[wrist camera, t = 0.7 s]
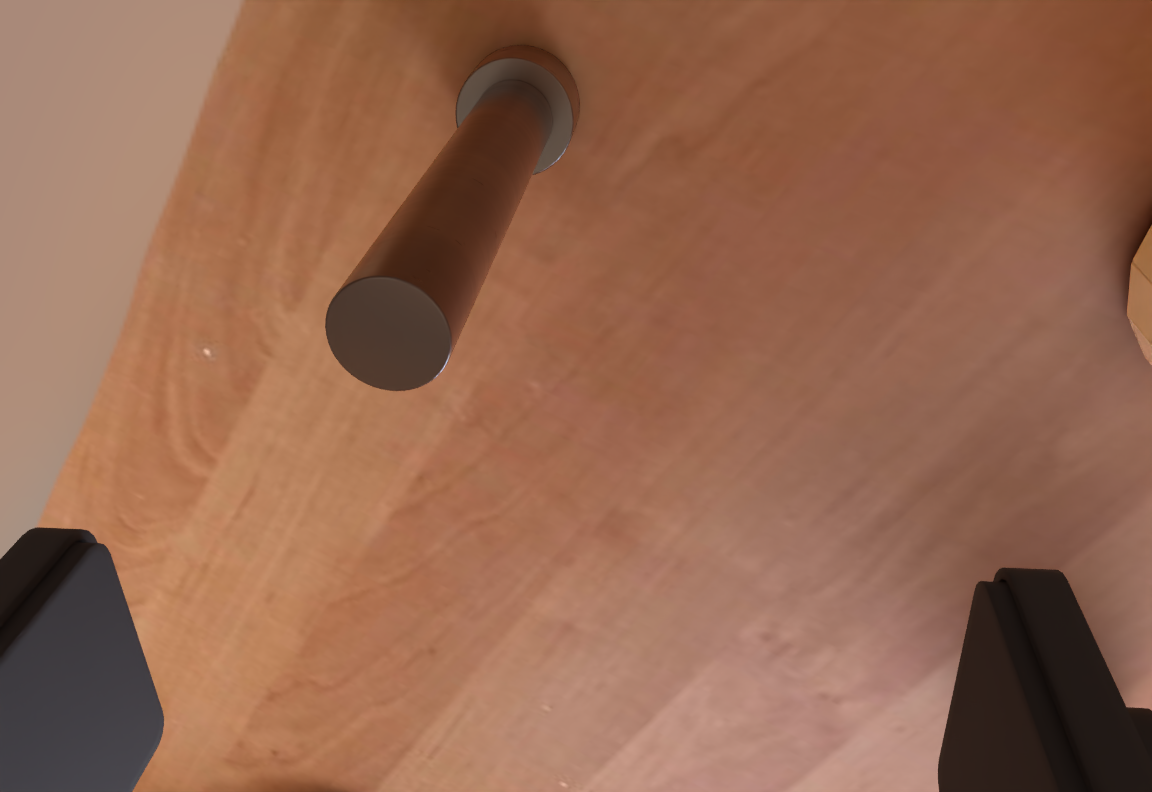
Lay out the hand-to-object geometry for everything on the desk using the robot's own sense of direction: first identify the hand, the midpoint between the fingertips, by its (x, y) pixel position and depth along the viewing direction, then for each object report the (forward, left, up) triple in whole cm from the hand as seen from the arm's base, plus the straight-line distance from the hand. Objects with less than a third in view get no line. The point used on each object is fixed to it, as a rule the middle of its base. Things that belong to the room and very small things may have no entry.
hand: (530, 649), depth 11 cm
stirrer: (+2, -4, -28) cm, 28 cm away
